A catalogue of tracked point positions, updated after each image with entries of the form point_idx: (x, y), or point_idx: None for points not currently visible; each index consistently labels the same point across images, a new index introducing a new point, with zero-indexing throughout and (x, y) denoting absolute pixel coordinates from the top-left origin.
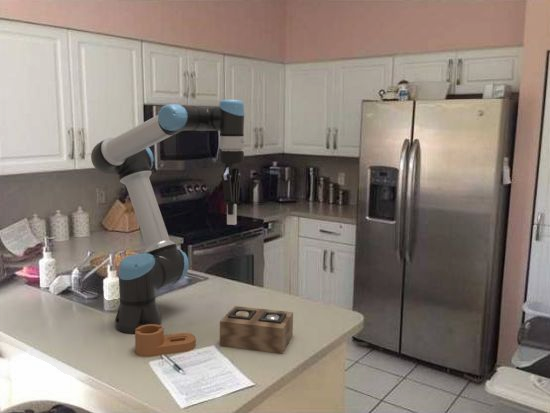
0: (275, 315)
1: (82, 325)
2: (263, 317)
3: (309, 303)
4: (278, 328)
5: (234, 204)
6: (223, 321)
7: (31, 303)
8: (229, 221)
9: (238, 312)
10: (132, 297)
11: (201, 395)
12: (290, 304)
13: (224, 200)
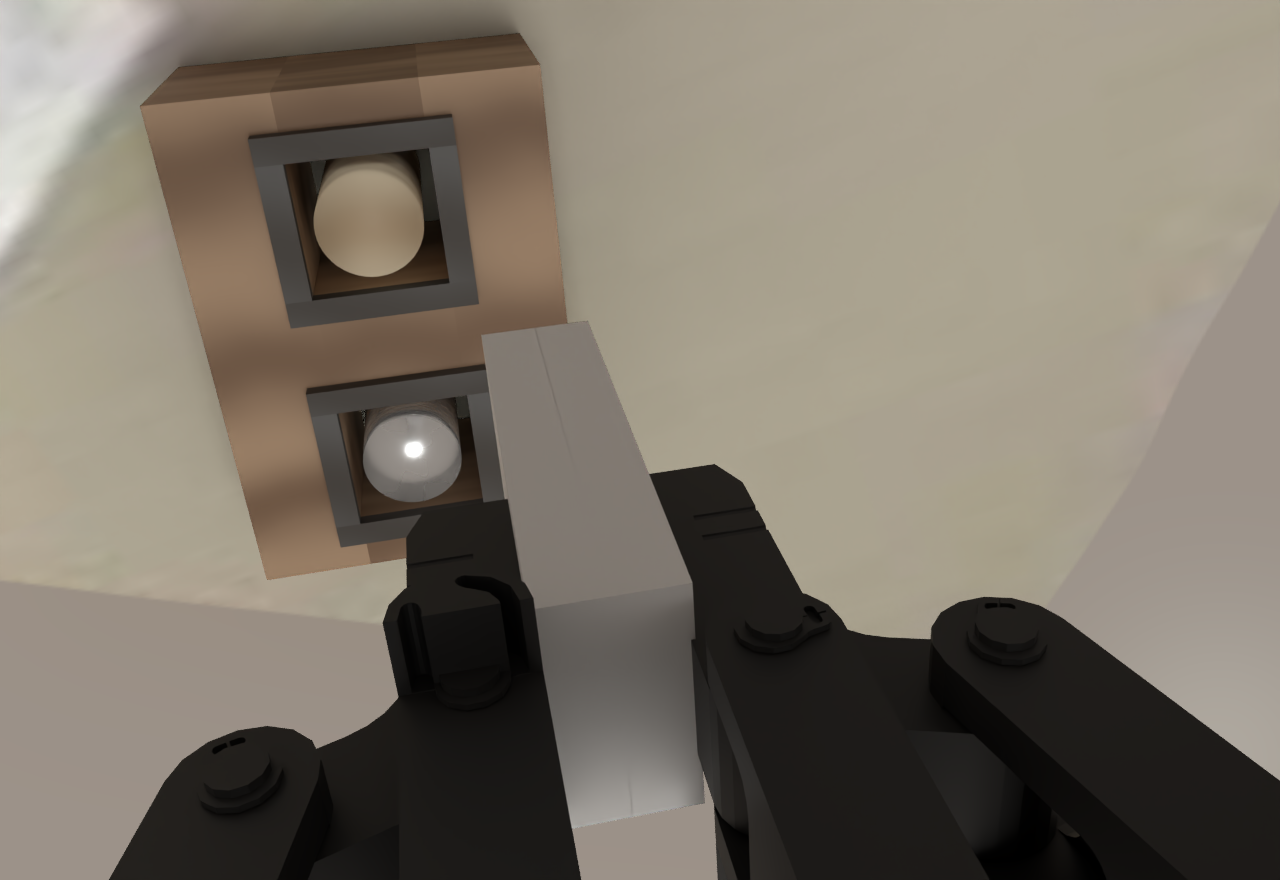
0: (444, 467)
1: None
2: (367, 407)
3: (1146, 354)
4: (260, 551)
5: (598, 797)
6: (153, 139)
7: None
8: (494, 421)
9: (371, 187)
10: None
11: None
12: (1106, 240)
13: (136, 843)
